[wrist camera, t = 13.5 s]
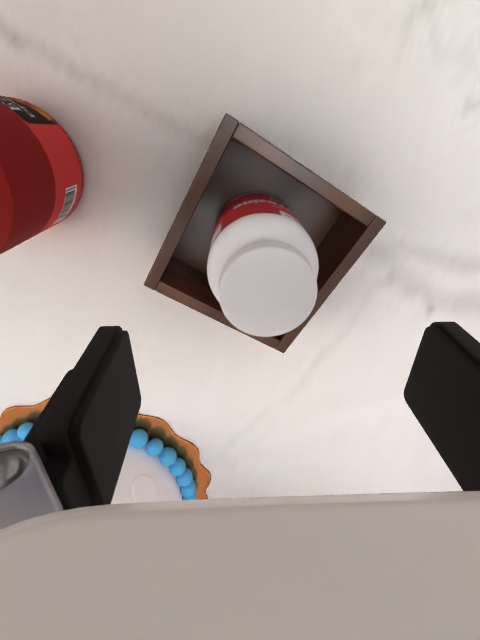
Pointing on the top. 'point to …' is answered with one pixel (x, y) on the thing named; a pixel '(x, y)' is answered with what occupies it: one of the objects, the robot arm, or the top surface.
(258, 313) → the pill bottle
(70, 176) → the canned food
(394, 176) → the top surface
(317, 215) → the holder
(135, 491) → the wedding cake
